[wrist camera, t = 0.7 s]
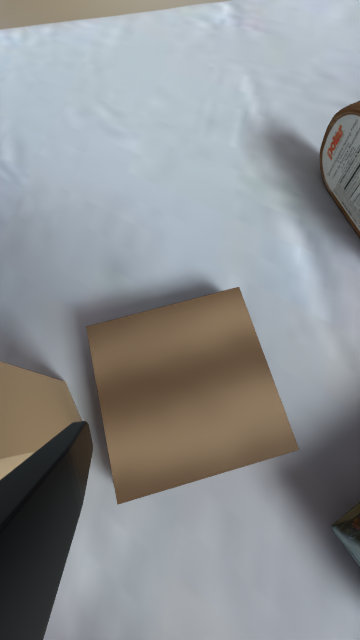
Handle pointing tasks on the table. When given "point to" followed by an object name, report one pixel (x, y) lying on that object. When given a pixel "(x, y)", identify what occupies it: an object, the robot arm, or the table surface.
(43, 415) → the kraft carton
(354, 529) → the beverage carton
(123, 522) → the table surface
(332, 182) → the tin
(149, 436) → the walnut podium
